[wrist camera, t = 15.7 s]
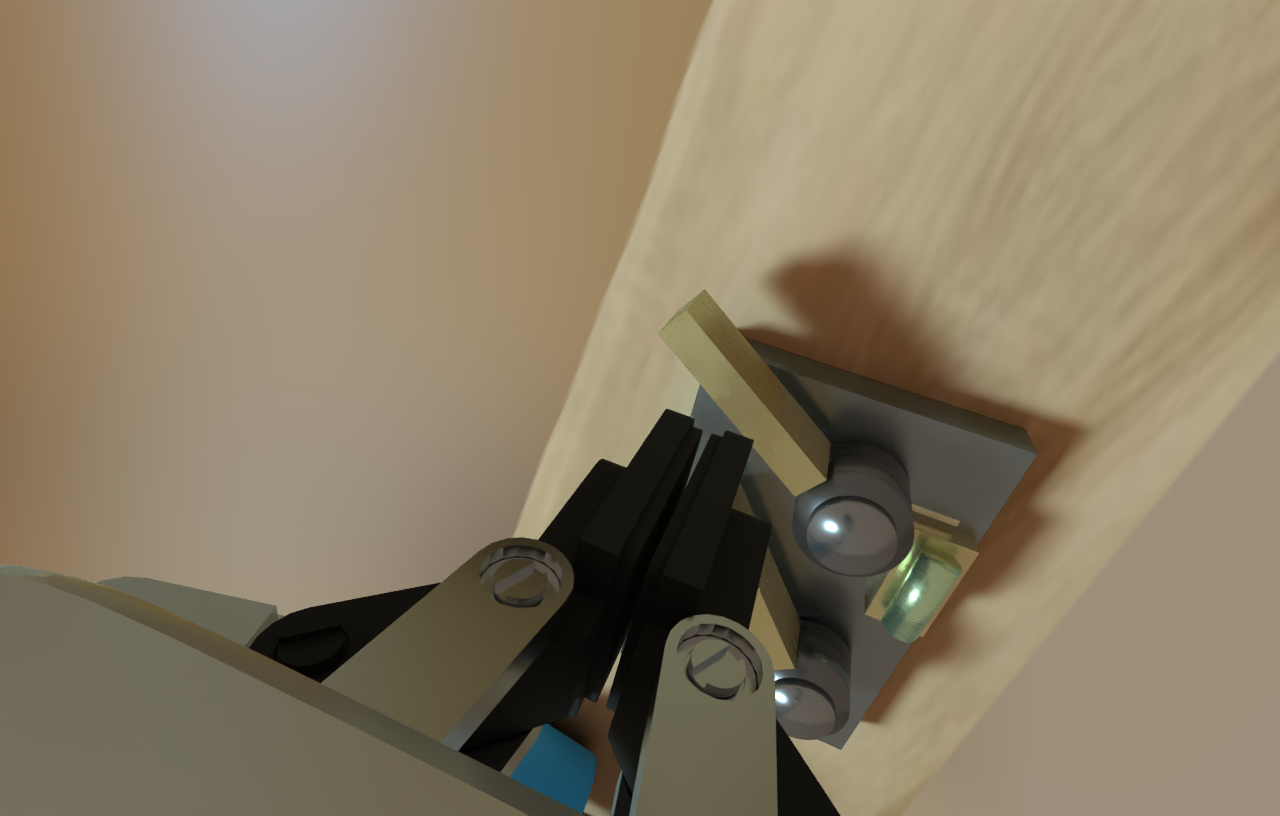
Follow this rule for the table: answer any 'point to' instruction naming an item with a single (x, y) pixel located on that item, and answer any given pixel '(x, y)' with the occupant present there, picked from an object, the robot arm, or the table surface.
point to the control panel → (940, 494)
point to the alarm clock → (558, 768)
